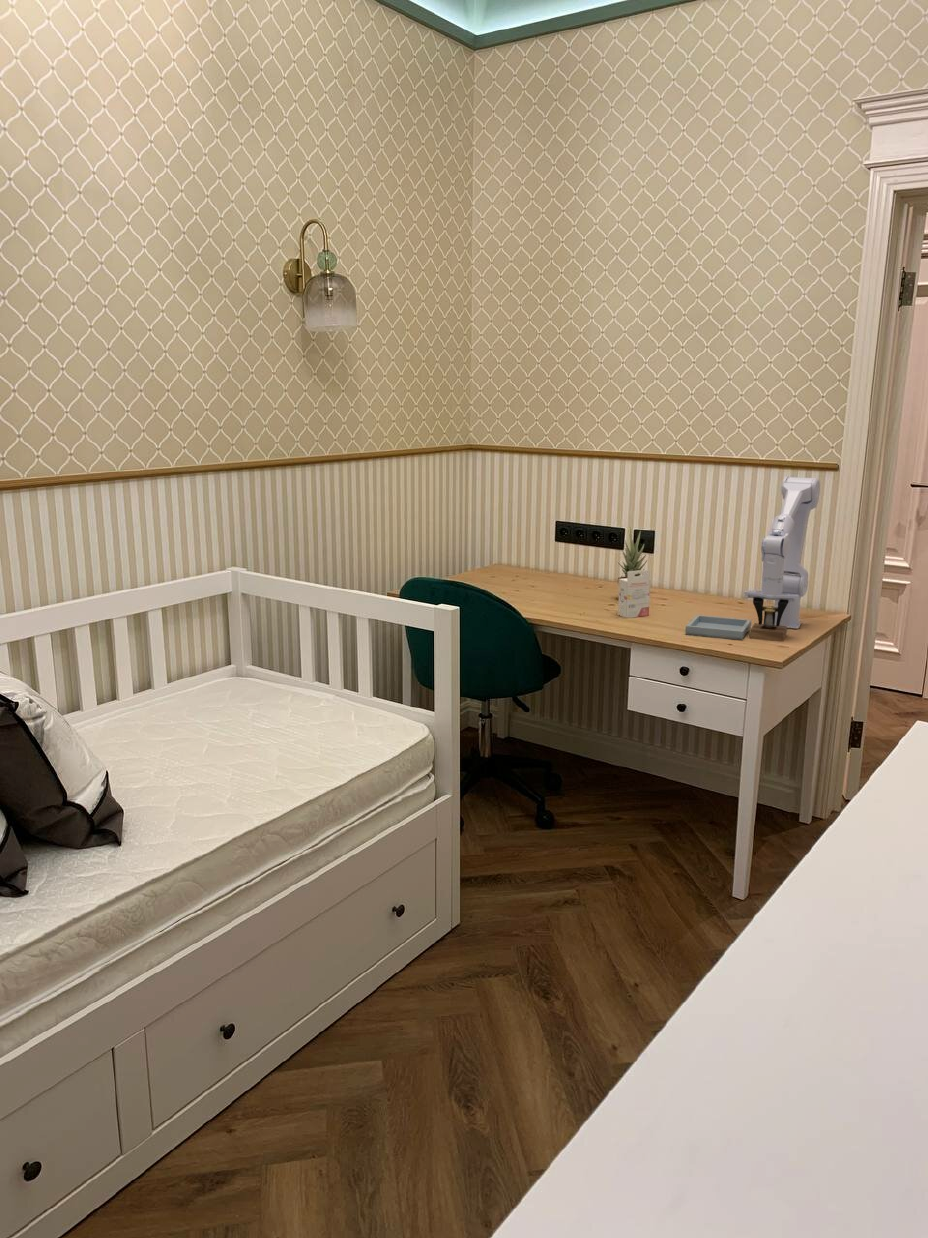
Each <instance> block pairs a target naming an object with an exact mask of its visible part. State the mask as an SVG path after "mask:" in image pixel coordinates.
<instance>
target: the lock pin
mask: <svg viewBox="0 0 928 1238" xmlns="http://www.w3.org/2000/svg"><path fill="white" fill-rule="evenodd" d="M774 606H775V605H774ZM774 606H773V605H772V606H771V605H765V606H764V605H763V607H762V610H763V612H764V614H763V615H764V616H763V624H764V626H763V629H771V630H774V626H775V613H776V612H778V607H774Z"/></svg>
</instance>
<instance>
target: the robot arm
mask: <svg viewBox="0 0 928 1238" xmlns="http://www.w3.org/2000/svg"><path fill="white" fill-rule="evenodd" d="M780 488H781V489H780V490H781V495H782V499H783V503H782V508H781V510H780V514H778V515H776V516H774V519H773V522H772V524H771V527H770V529H769V531H768V534H767V535H766V536H763V538H762V541H761V545H760V546H761V547H760V552H761V561H762V574H761V586H760V587H761V588H760V589H761V590H744V594H743V595H744V597H743V598H744V599H752V603H753V606H754V609H755V611H756V615H757V618H758V623H759V624H760V625H761V624H763V620H764V616H763V615H764V614H763V612H764V611H763V610H762V607H763V606H764V600H769V601H774V607H778V612H776V613H775V625H776V626H779V625H783V626H787V629H794V630H795V629H796V630H797V629H800V626H801V624H802V620H800V611H801V609H800V607H801V598H802V597H804V596H805V595H806V594H807V591H808V587H809V572H808V570H807V569H806V568H805V567H804V566H803V565H801V563H802V555H803V550H804V546H805V541H806V534H807V528H808V524H809V523H808V522H809V519H810V518H809V517H810V514H811V510H813V509H816V508H817V506H818V502H819V500H820V493H821V492H820V491H821V482H820V479H819V478H818V477H798V476H797V477H794V476H793V477H791V476H788V475H787V476H785V477H784V478H783V480H782V483H781V486H780Z"/></svg>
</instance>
